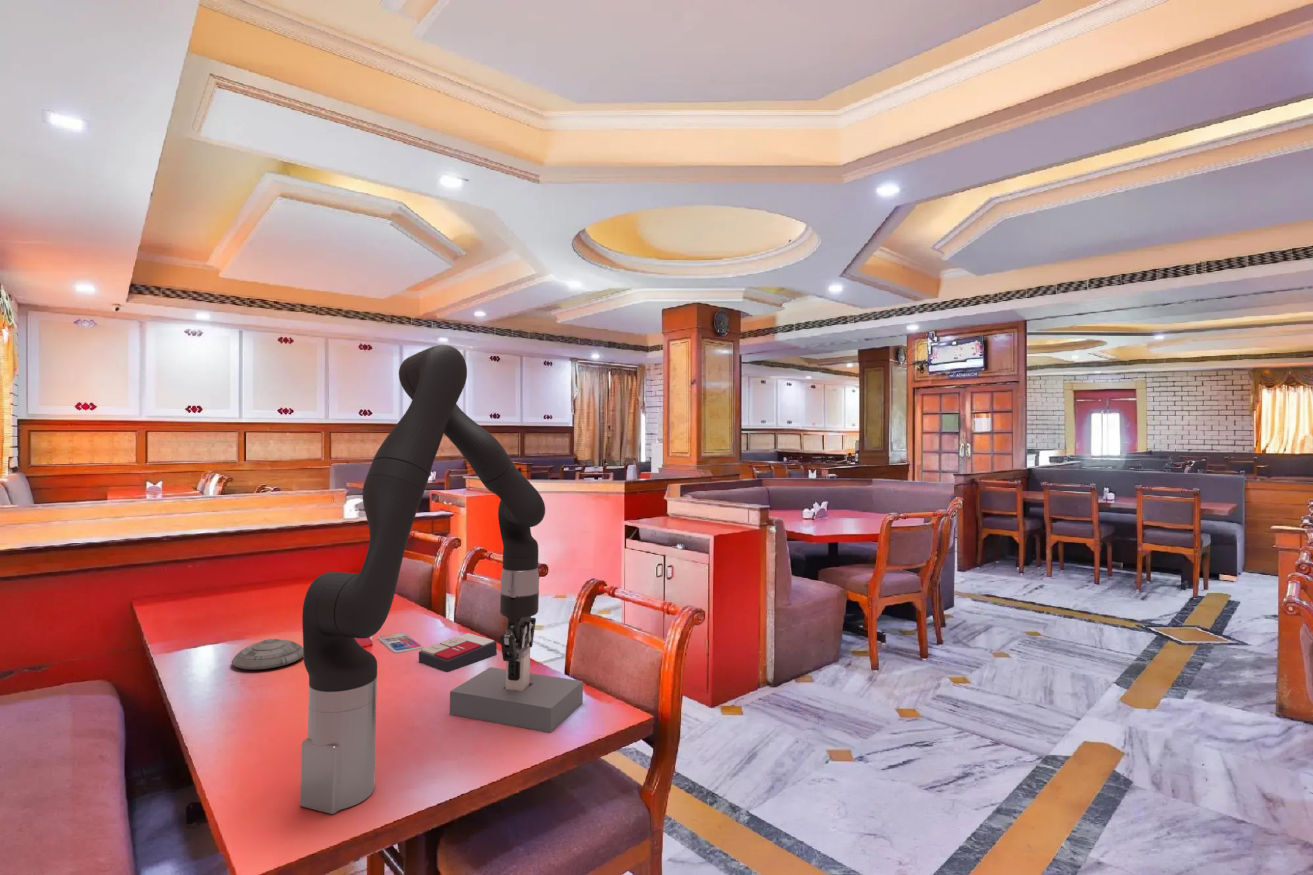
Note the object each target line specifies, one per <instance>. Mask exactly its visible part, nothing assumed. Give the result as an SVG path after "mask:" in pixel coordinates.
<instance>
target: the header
mask: <svg viewBox="0 0 1313 875" xmlns="http://www.w3.org/2000/svg"><path fill="white" fill-rule="evenodd" d="M583 689H584V681H583V680H577V679H572V678H563V677H558V676H550V675H546V674H545V675H544V674H539V673H538V674H537V673H533V672H532V673H531V672H530V677H529V687H528V688H527V689H525V690H524V691H523V692H521V691H515V690H509V689H506V668H499V667H492V666H490V667H487V668H486V669H485V670H483V671H481V672H479V673H478V674H476V675H475V676H473V677H471V678H470V679H468V680H466V681H465V682H463V683H461V684H459V685H457V686H456V687H455V688H453V689H451V690H449V715H450V716H451V715H452V716H457V717H462V718H468V719H475V720H479V721H485V722H491V723H496V724H500V725H507V726H512V727H517V728H524V729H528V730H534V731H539V732H544V733H552V732H553V731H554V730H555V729H556V728H557V727H559V725H561V724H562V723H563V722H564V721H565V720H566V719H567V718H568V717H569V716H570V715H572V714H573V713H574V711H576V710H577V709H578V708H580V706H582V704H583V700H584V699H583V697H584V696H583V695H584V690H583Z"/></svg>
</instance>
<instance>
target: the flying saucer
mask: <svg viewBox="0 0 1313 875" xmlns="http://www.w3.org/2000/svg"><path fill="white" fill-rule="evenodd" d="M302 658H304V656H303V645H301V644H300V643H298V642H295V641H291V640H288V639H279V638H268V639H265V640H261V641H259V642H257V643H252V644H250V645H249V646H246V647H244V649H242V650H240V651H239V652H238V653H236V654H235V656H234V657H233V658H232V660H231V665H232V666H234V667H236V668H238V669H242V670H268V669H274V668H278V667H283V666H286V665H289V664H291V663H292V664H293V663H294V662H297V661H299V660H300V659H302Z"/></svg>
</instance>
